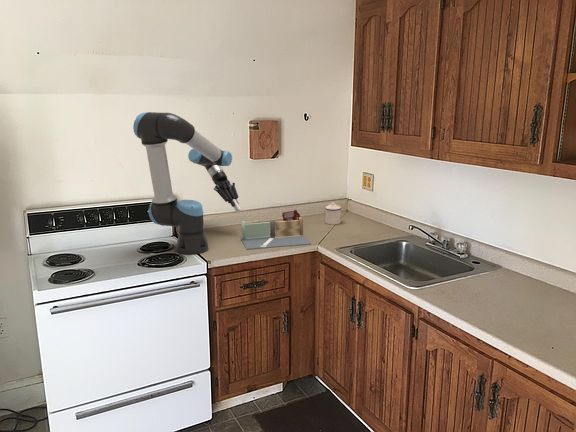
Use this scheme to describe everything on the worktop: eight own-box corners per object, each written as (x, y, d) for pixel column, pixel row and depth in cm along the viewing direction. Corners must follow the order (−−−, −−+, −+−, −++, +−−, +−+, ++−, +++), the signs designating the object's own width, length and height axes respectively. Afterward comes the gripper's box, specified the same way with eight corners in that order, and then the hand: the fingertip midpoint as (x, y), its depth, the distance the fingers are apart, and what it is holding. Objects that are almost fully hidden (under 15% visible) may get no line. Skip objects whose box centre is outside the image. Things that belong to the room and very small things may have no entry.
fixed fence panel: (271, 239, 256) (270, 220, 254) (270, 237, 258) (269, 218, 256) (303, 236, 260) (303, 217, 258) (302, 235, 262) (302, 216, 260)
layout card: (246, 249, 240) (246, 248, 239) (239, 236, 260) (239, 235, 260) (311, 244, 247) (311, 243, 247) (299, 232, 268) (299, 231, 268)
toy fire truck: (305, 228, 275) (305, 210, 272) (287, 232, 268) (286, 213, 265) (297, 226, 280) (297, 207, 278) (279, 229, 273) (279, 211, 270)
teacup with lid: (344, 223, 285) (344, 203, 282) (331, 225, 280) (331, 205, 277) (331, 218, 295) (331, 199, 292) (318, 221, 290) (318, 201, 287)
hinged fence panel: (269, 236, 258) (268, 219, 256) (270, 237, 256) (269, 220, 254) (241, 238, 254) (240, 221, 252) (242, 239, 253) (241, 222, 250)
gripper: (224, 177, 274) (245, 212, 267) (205, 181, 265) (225, 217, 258) (230, 169, 269) (251, 204, 262) (210, 172, 260) (231, 208, 253)
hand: (238, 210), depth 260 cm, fingers closed
